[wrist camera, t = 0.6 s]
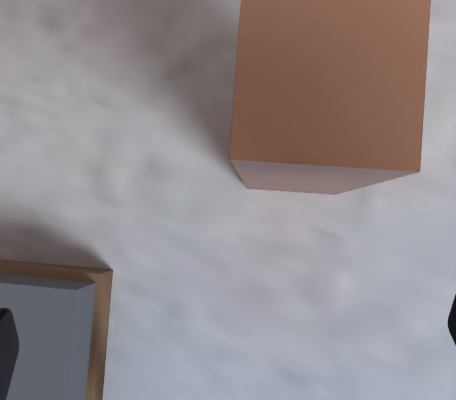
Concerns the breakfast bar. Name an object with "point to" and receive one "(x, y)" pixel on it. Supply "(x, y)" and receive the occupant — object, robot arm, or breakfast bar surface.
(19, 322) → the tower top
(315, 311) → the breakfast bar surface
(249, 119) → the pillar
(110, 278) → the tower base
